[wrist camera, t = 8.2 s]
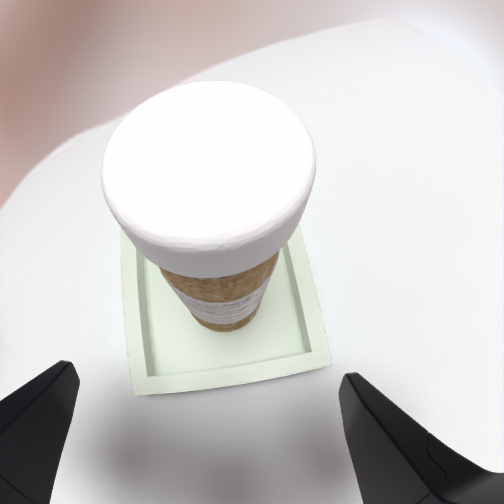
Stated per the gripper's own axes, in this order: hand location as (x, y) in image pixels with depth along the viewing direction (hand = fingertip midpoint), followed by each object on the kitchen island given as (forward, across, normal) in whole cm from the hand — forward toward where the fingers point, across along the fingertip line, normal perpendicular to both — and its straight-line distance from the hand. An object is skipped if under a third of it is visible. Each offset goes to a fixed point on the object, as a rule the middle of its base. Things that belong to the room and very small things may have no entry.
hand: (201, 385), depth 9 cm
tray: (+10, 0, +3) cm, 10 cm away
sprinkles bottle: (+10, 0, +2) cm, 10 cm away
